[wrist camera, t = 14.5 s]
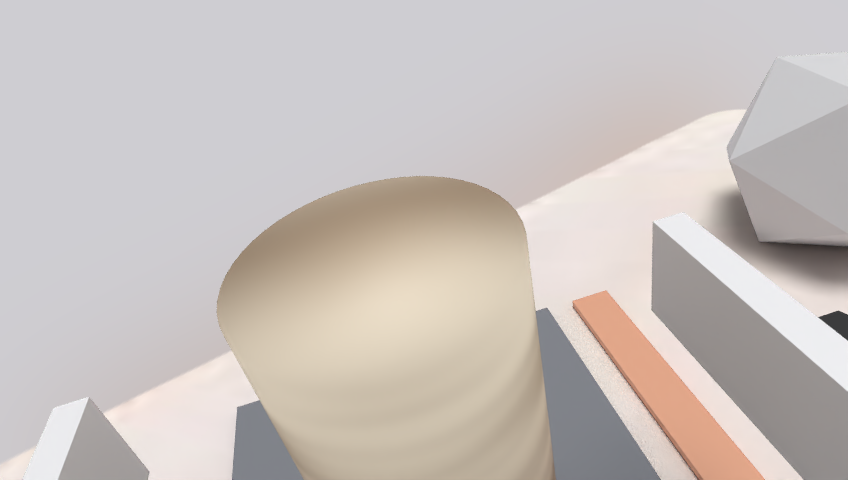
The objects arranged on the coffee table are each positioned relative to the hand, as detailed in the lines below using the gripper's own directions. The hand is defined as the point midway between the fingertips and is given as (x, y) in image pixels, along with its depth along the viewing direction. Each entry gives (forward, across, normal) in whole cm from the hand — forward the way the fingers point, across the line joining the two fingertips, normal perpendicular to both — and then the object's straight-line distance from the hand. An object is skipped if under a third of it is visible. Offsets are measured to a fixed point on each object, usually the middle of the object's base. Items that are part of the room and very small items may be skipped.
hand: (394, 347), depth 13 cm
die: (+8, +20, -9) cm, 23 cm away
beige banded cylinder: (-2, 0, -8) cm, 8 cm away
